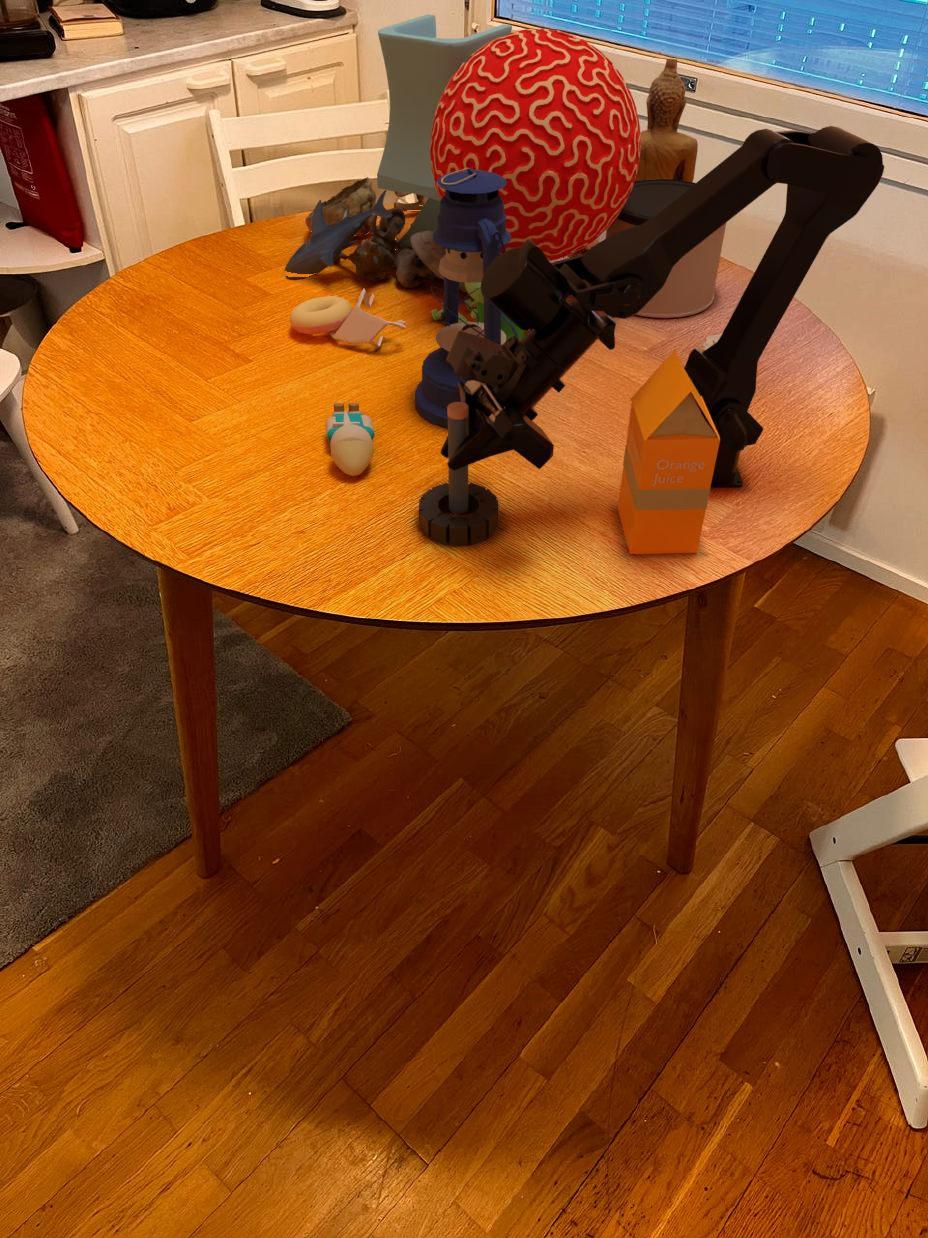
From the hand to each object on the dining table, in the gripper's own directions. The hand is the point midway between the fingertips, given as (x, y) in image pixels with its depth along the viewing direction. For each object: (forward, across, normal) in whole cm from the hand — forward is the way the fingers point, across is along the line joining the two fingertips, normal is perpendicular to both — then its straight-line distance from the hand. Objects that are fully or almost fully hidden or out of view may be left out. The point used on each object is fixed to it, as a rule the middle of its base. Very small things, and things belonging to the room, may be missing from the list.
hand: (446, 461), depth 105 cm
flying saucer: (-9, -62, +17) cm, 65 cm away
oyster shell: (-6, -80, +13) cm, 82 cm away
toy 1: (-2, -75, +3) cm, 75 cm away
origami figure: (+2, -49, +7) cm, 50 cm away
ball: (-23, -61, +20) cm, 68 cm away
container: (-30, -50, +42) cm, 72 cm away
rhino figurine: (-9, -69, +16) cm, 71 cm away
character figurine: (-32, -62, +38) cm, 79 cm away
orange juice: (-10, +8, +22) cm, 25 cm away
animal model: (-10, -90, +17) cm, 92 cm away
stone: (-32, -29, +44) cm, 62 cm away
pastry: (-4, -91, +6) cm, 91 cm away
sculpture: (-36, -71, +48) cm, 93 cm away
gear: (+5, 0, +7) cm, 9 cm away
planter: (-10, -73, +22) cm, 77 cm away
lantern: (-2, -26, +14) cm, 29 cm away
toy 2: (+9, -26, +1) cm, 28 cm away
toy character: (-8, -44, +20) cm, 49 cm away
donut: (+10, -56, 0) cm, 57 cm away
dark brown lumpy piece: (-11, -73, +8) cm, 74 cm away
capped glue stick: (+4, 0, +6) cm, 7 cm away
